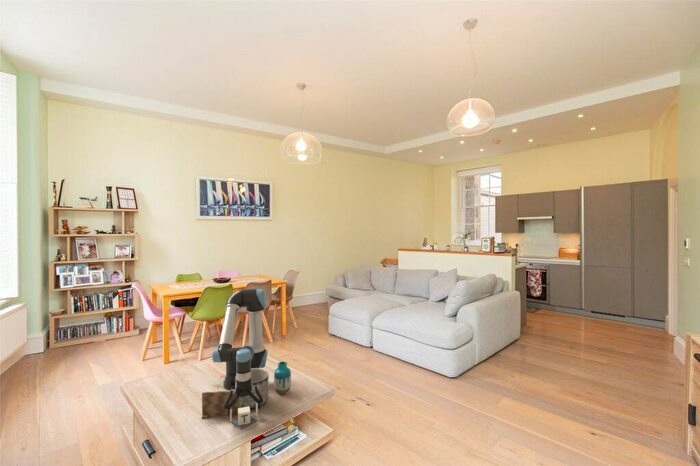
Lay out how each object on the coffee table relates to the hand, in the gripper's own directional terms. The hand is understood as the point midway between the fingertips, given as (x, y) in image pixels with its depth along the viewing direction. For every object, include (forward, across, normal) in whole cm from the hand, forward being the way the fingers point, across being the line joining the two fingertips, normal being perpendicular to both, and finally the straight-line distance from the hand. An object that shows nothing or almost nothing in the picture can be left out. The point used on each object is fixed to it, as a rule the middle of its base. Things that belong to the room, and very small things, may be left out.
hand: (244, 417), depth 178 cm
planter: (+2, +6, +18) cm, 19 cm away
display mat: (+2, 0, 0) cm, 2 cm away
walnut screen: (+2, -12, +12) cm, 17 cm away
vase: (+2, +25, +23) cm, 34 cm away
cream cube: (+2, 0, 0) cm, 2 cm away
